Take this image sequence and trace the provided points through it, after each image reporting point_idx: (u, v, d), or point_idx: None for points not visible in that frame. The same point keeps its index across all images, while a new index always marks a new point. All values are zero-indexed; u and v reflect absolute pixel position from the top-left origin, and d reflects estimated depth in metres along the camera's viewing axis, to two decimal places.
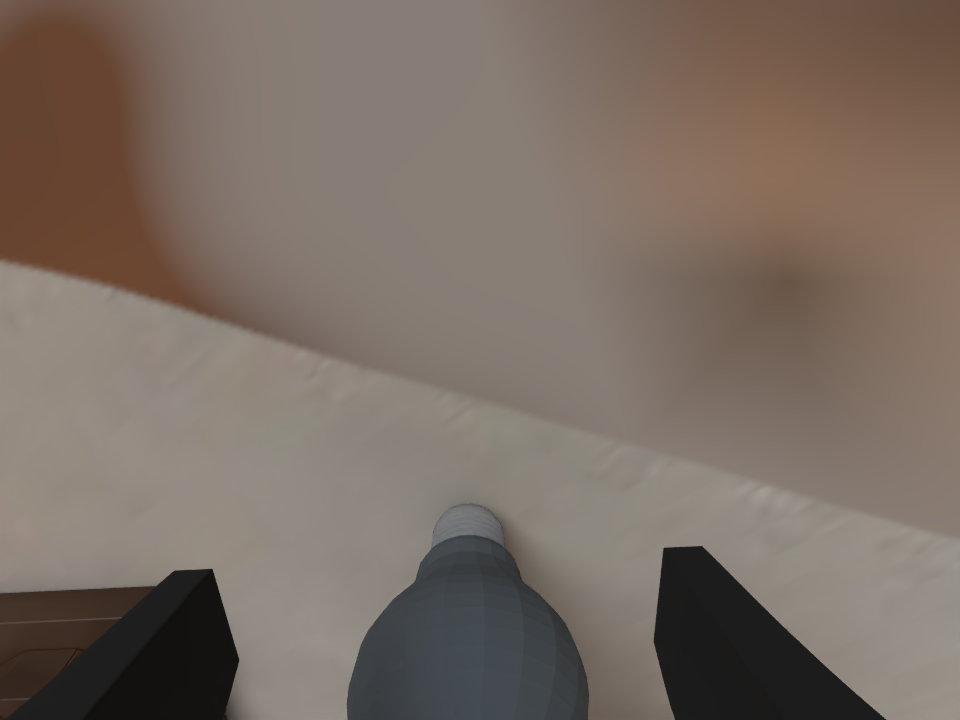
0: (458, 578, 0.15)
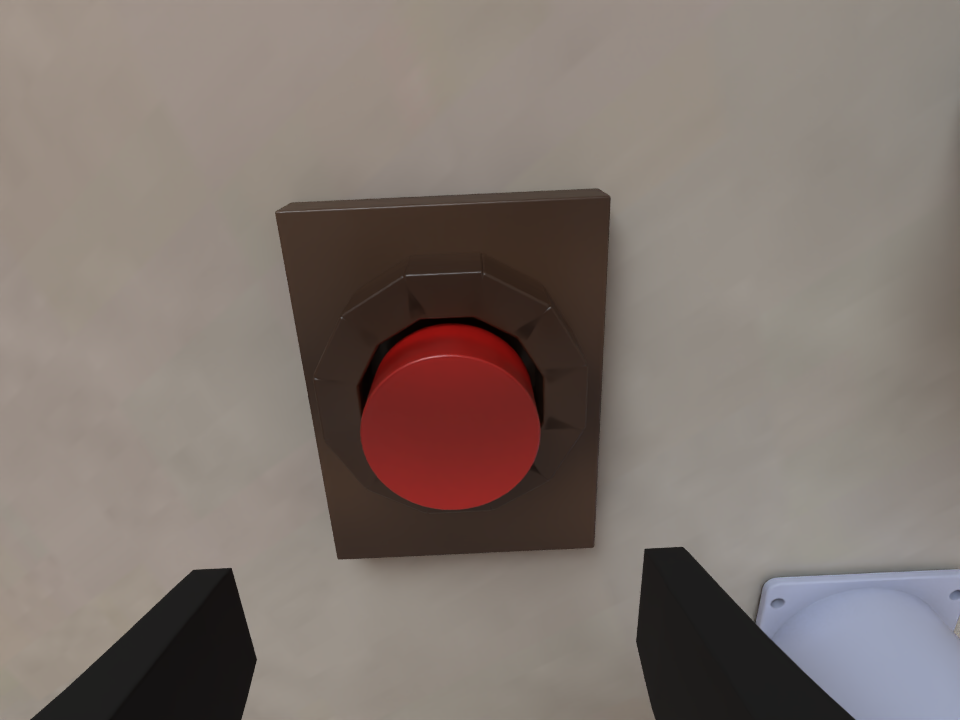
0: None
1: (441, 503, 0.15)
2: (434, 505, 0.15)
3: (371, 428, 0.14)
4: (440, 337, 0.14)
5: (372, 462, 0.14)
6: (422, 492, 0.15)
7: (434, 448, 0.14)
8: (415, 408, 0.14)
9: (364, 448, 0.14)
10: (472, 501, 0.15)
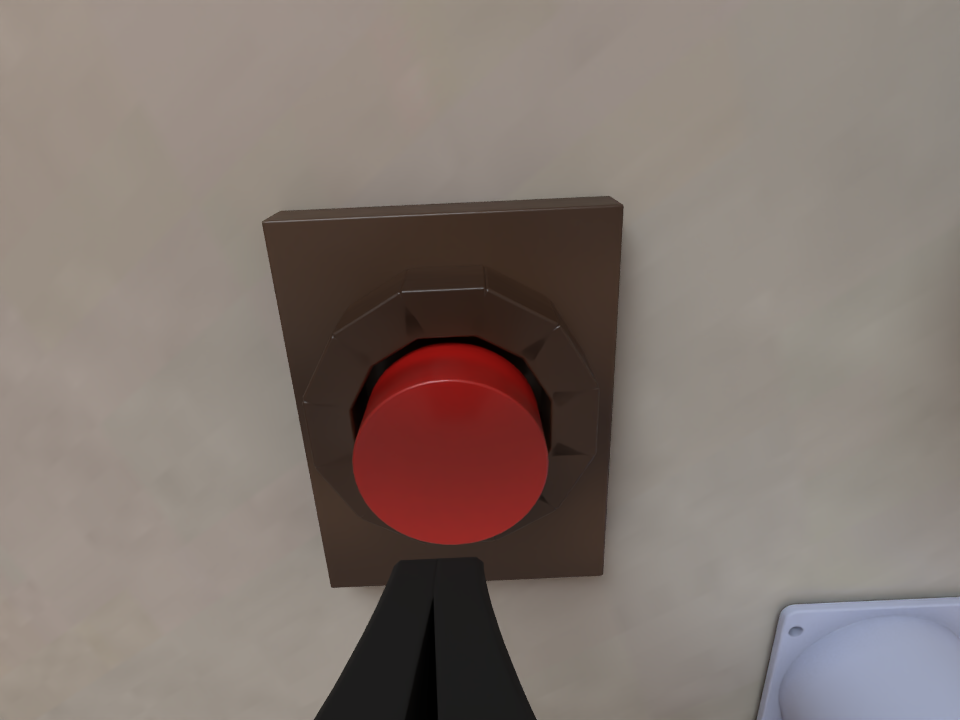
0: None
1: (440, 537, 0.14)
2: (433, 540, 0.14)
3: (364, 458, 0.13)
4: (440, 359, 0.13)
5: (365, 494, 0.13)
6: (420, 526, 0.14)
7: (432, 479, 0.13)
8: (412, 437, 0.13)
9: (356, 479, 0.13)
10: (474, 535, 0.14)
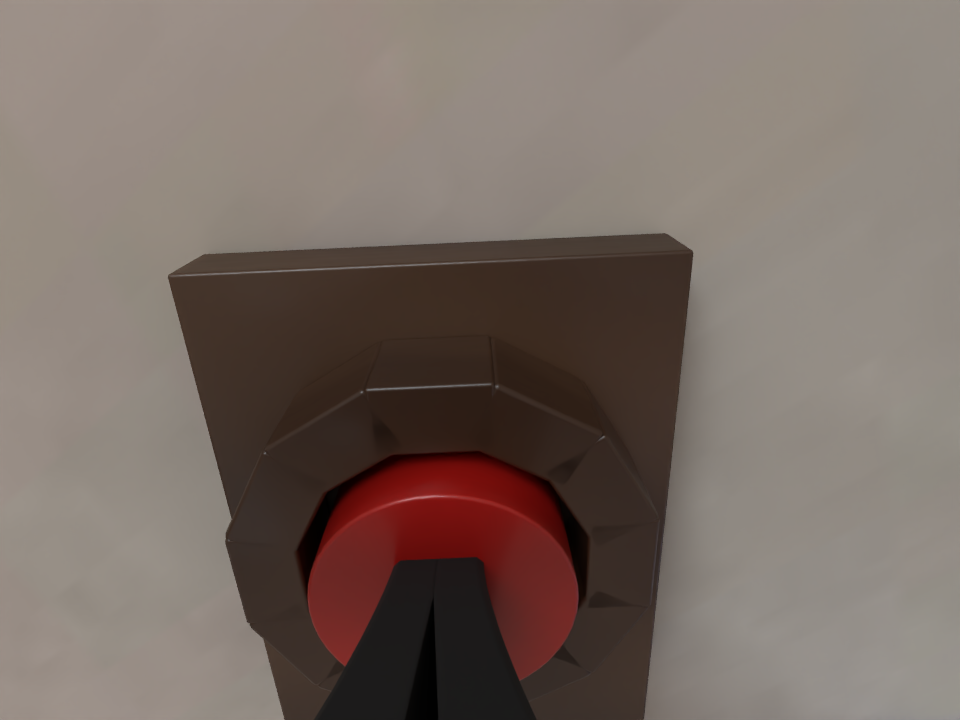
0: None
1: None
2: None
3: (324, 595, 0.09)
4: (429, 455, 0.10)
5: (327, 639, 0.10)
6: None
7: None
8: (390, 569, 0.09)
9: (314, 622, 0.10)
10: None
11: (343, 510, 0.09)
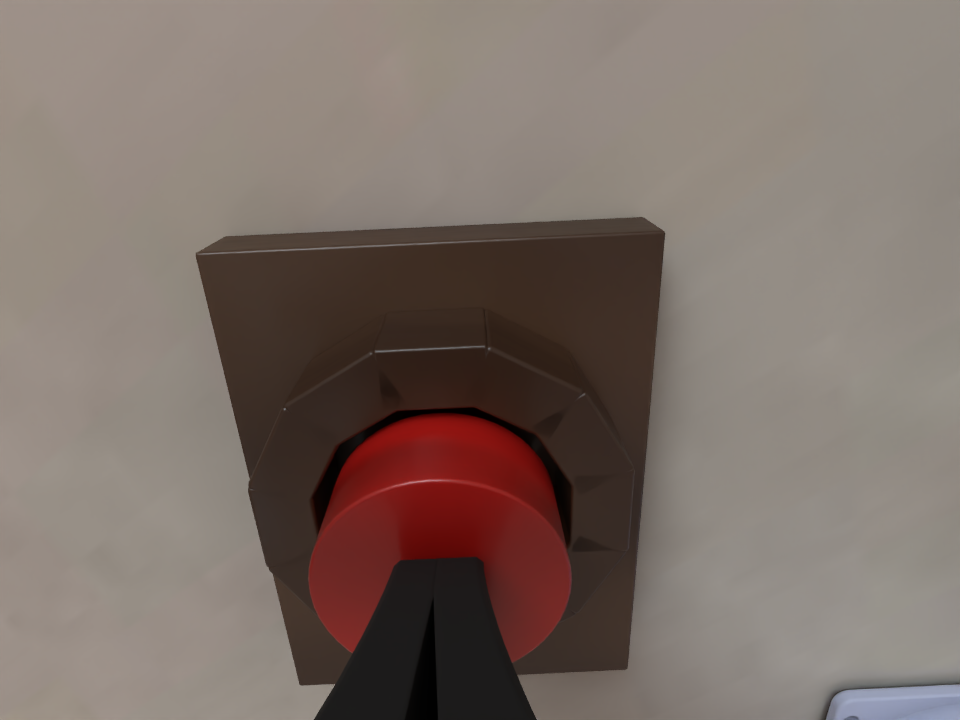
0: None
1: None
2: None
3: (324, 578, 0.10)
4: (426, 441, 0.10)
5: (327, 621, 0.10)
6: None
7: None
8: (387, 552, 0.09)
9: (315, 604, 0.10)
10: None
11: (343, 495, 0.10)
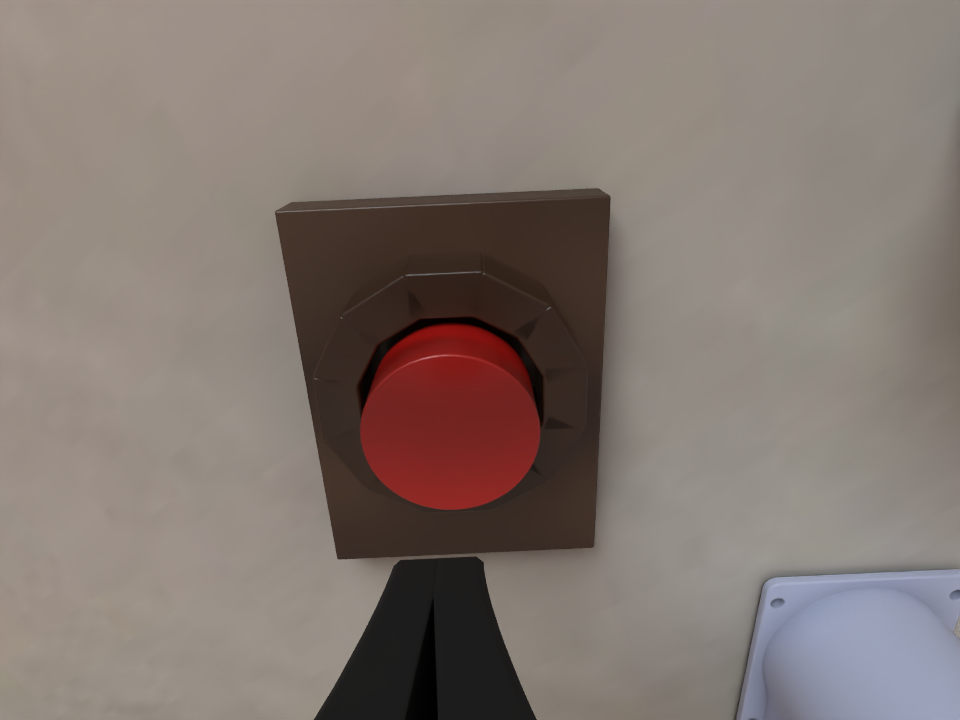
0: None
1: (441, 503, 0.15)
2: (434, 505, 0.15)
3: (371, 428, 0.14)
4: (440, 337, 0.14)
5: (372, 462, 0.14)
6: (422, 492, 0.15)
7: (433, 447, 0.14)
8: (415, 408, 0.14)
9: (364, 448, 0.14)
10: (472, 501, 0.15)
11: (384, 371, 0.14)
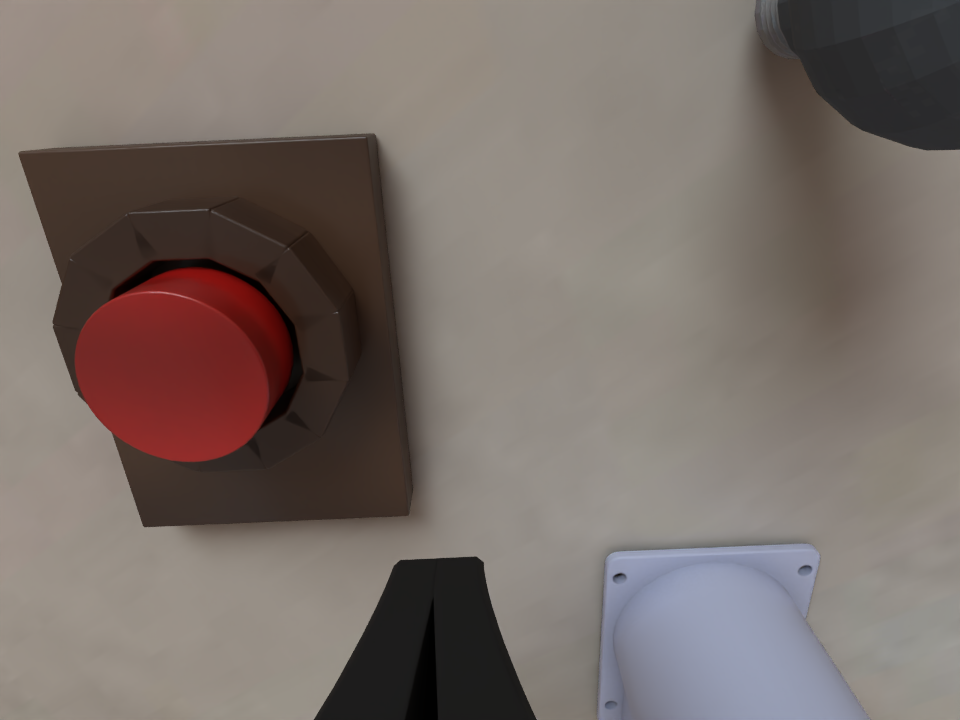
0: None
1: (177, 454, 0.14)
2: (171, 457, 0.14)
3: (86, 371, 0.13)
4: (165, 278, 0.14)
5: (95, 409, 0.14)
6: (155, 442, 0.14)
7: (157, 393, 0.14)
8: (128, 350, 0.13)
9: (83, 393, 0.14)
10: (210, 452, 0.14)
11: None
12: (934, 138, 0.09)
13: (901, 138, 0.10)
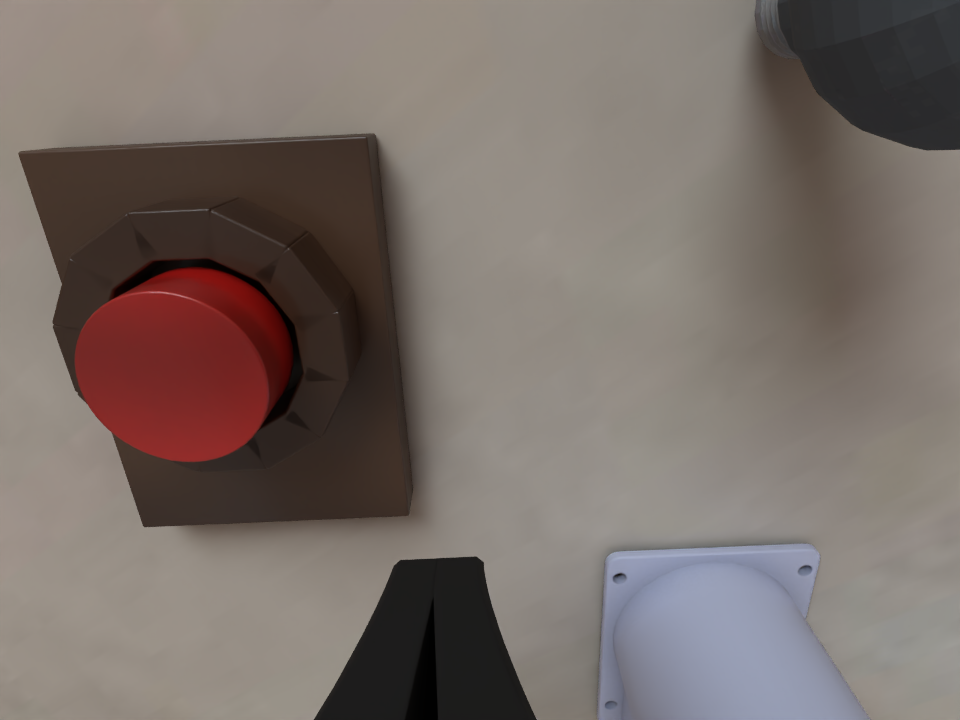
0: None
1: (177, 454, 0.14)
2: (171, 457, 0.14)
3: (86, 371, 0.13)
4: (165, 278, 0.14)
5: (95, 409, 0.14)
6: (155, 442, 0.14)
7: (157, 393, 0.14)
8: (128, 350, 0.13)
9: (83, 393, 0.14)
10: (210, 452, 0.14)
11: None
12: (934, 138, 0.09)
13: (901, 138, 0.10)
